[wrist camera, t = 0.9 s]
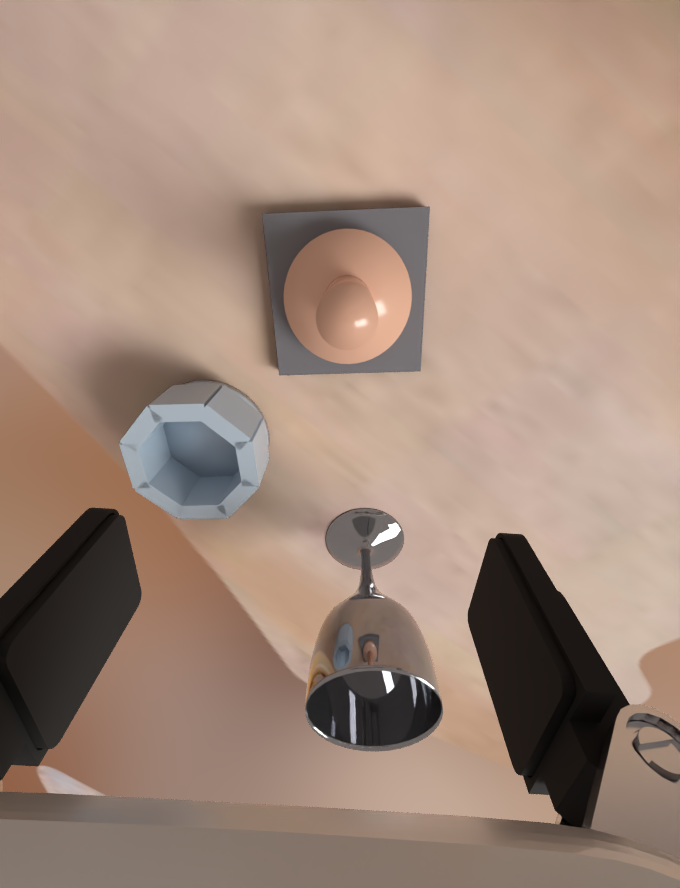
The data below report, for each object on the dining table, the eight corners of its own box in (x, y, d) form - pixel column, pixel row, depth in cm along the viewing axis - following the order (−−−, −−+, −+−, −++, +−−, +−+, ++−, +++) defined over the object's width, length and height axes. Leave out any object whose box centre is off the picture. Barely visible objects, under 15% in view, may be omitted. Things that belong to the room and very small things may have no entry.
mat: (426, 207, 24) (429, 206, 24) (418, 367, 29) (420, 371, 28) (265, 214, 25) (261, 213, 24) (281, 371, 29) (279, 375, 28)
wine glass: (303, 531, 36) (276, 702, 23) (377, 489, 34) (396, 651, 20) (353, 584, 39) (355, 764, 25) (424, 549, 37) (468, 725, 23)
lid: (412, 226, 24) (437, 220, 17) (406, 357, 28) (425, 395, 21) (280, 231, 24) (253, 227, 17) (291, 360, 28) (273, 399, 21)
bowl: (261, 378, 30) (246, 402, 25) (275, 481, 34) (263, 518, 29) (143, 381, 30) (106, 406, 25) (170, 483, 34) (143, 519, 29)
